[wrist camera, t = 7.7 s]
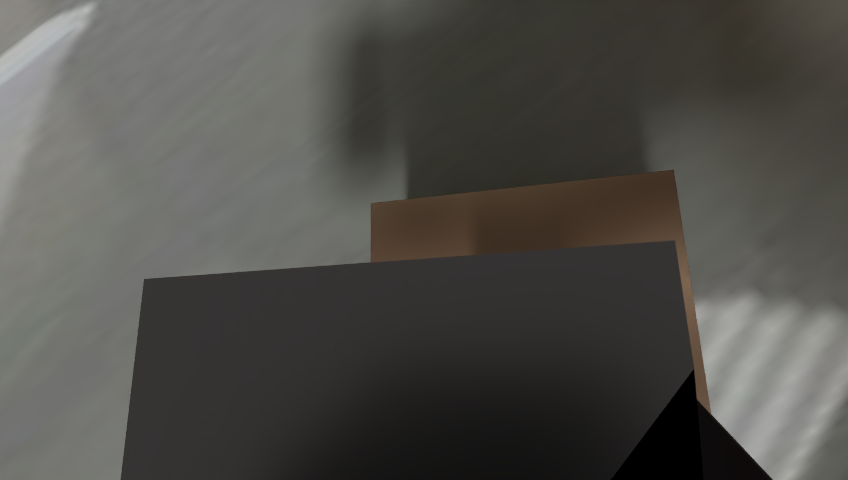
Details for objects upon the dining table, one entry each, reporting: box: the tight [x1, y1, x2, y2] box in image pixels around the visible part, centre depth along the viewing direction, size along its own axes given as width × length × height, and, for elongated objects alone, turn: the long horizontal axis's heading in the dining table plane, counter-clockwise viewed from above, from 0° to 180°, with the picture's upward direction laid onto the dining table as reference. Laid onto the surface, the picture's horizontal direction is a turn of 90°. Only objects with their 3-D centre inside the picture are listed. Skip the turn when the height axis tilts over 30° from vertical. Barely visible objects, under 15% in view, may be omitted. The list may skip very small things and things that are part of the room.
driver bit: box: [121, 240, 704, 480], centre depth 8 cm, size 3×3×12 cm
